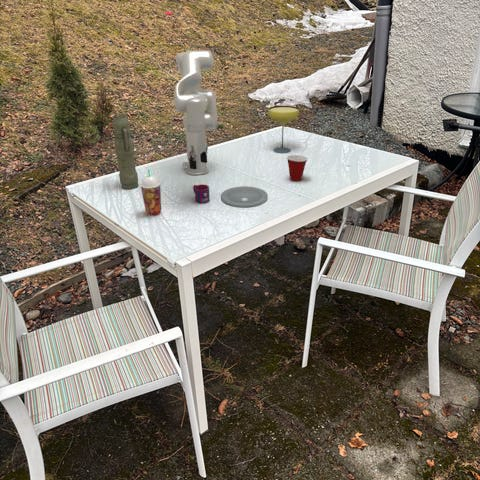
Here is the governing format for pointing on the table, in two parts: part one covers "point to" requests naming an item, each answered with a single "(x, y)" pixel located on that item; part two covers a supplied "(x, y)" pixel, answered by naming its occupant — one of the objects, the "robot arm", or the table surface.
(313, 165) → the table surface
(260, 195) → the dish
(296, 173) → the plastic cup
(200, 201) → the cup
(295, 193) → the table surface
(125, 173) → the green moai statue
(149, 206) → the smoothie
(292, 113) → the cocktail glass
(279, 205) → the table surface
